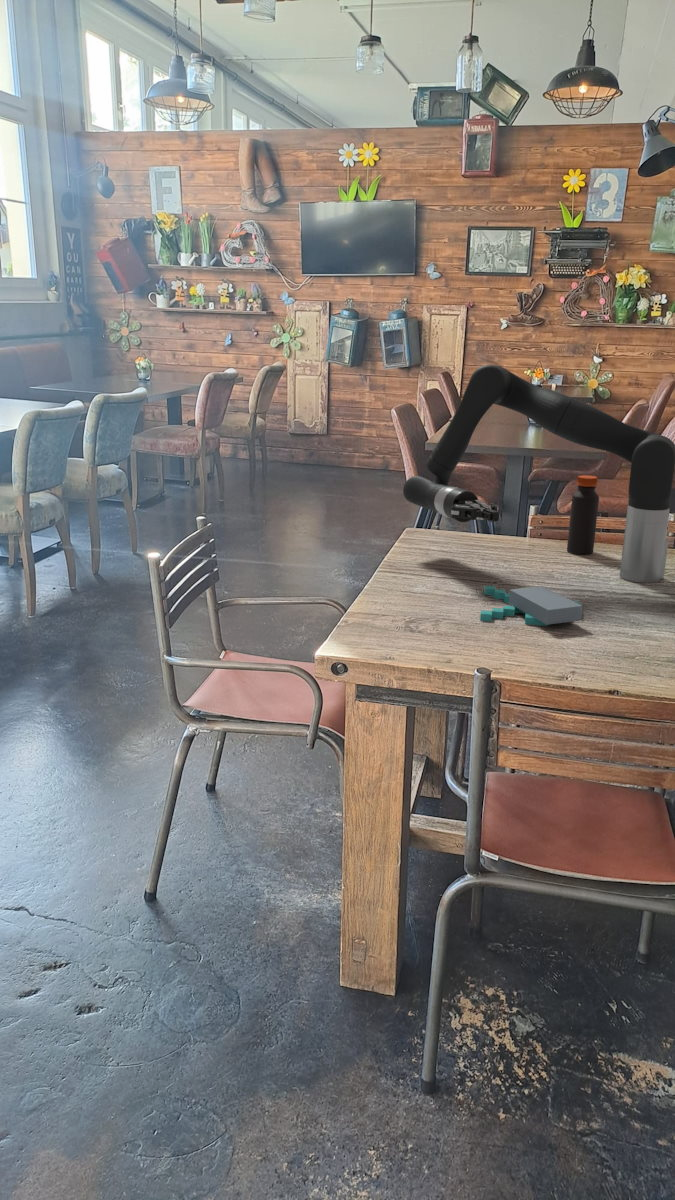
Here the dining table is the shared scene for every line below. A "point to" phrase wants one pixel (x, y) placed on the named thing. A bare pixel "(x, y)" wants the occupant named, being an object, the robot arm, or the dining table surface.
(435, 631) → the dining table surface
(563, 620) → the board
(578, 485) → the bottle
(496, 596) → the alien figure
